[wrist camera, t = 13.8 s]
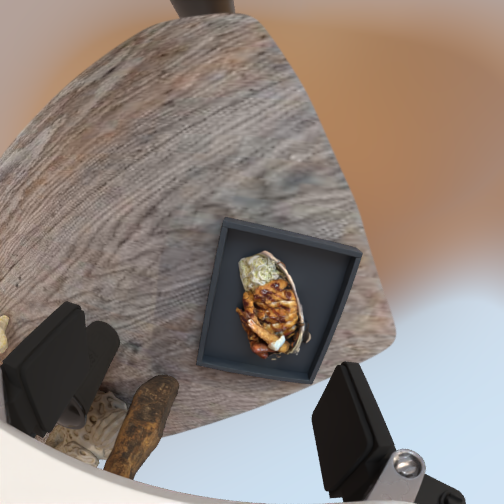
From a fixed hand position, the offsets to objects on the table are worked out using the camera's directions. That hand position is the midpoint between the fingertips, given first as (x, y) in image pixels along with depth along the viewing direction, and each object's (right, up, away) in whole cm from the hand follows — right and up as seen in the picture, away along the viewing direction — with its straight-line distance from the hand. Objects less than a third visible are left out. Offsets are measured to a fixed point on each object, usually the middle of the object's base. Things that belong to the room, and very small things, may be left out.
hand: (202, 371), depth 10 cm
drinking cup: (-18, -7, +25) cm, 31 cm away
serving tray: (+4, -2, +23) cm, 23 cm away
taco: (+3, -2, +22) cm, 23 cm away
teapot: (-22, -20, +28) cm, 41 cm away
